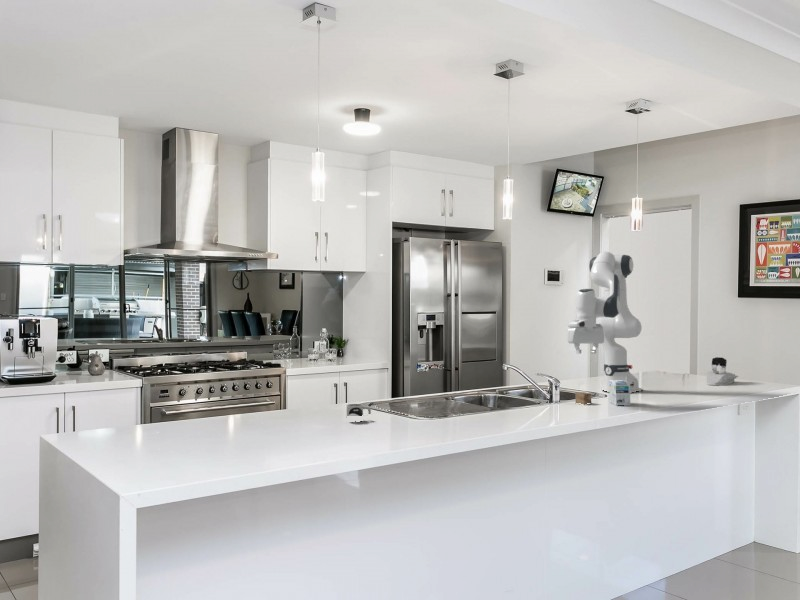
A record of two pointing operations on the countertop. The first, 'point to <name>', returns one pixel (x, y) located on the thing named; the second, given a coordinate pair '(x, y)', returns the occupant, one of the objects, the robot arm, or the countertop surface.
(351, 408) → the mug
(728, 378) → the iron
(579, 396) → the walnut cube
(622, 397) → the light bulb box
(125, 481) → the countertop surface
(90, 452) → the countertop surface
